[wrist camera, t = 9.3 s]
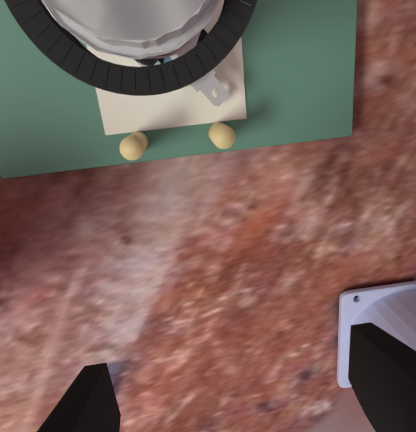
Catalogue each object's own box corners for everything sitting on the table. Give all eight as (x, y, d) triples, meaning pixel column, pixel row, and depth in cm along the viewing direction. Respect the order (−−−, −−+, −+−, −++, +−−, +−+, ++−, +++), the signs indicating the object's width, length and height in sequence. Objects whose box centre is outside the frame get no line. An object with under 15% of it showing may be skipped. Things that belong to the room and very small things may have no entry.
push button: (259, 60, 15) (384, -2, 6) (180, 141, 16) (183, 196, 7) (153, -68, 14) (97, -449, 4) (71, 33, 14) (-126, -91, 5)
